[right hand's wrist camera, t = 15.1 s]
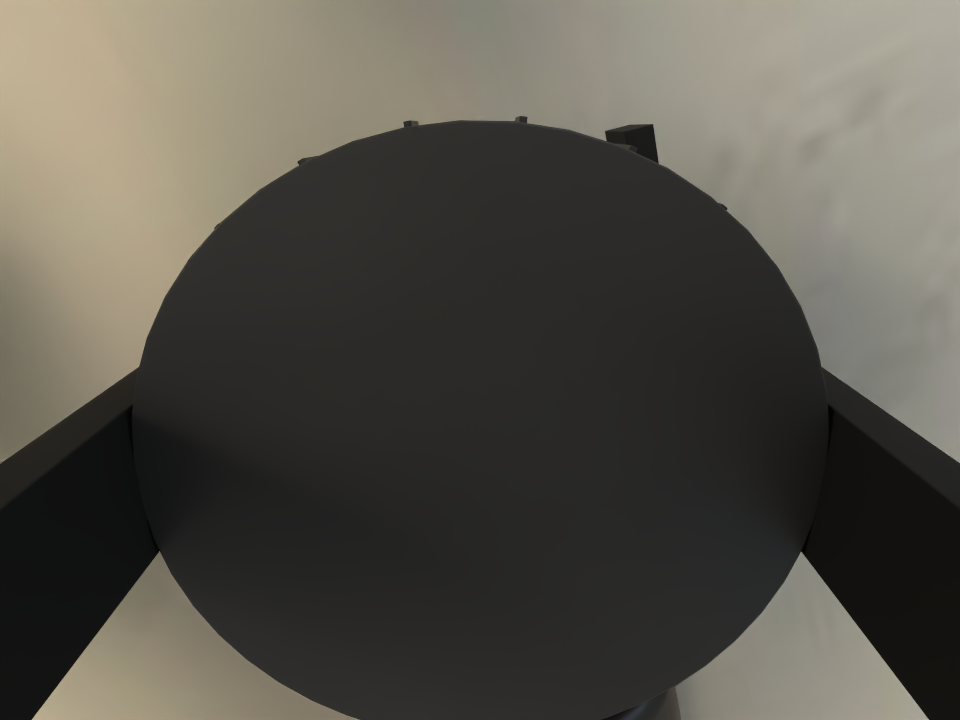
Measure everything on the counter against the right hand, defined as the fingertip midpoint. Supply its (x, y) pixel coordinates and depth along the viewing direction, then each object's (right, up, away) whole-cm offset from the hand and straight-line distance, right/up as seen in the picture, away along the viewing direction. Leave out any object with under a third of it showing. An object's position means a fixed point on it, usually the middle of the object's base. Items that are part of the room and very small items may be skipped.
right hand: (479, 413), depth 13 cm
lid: (0, -1, -2) cm, 2 cm away
